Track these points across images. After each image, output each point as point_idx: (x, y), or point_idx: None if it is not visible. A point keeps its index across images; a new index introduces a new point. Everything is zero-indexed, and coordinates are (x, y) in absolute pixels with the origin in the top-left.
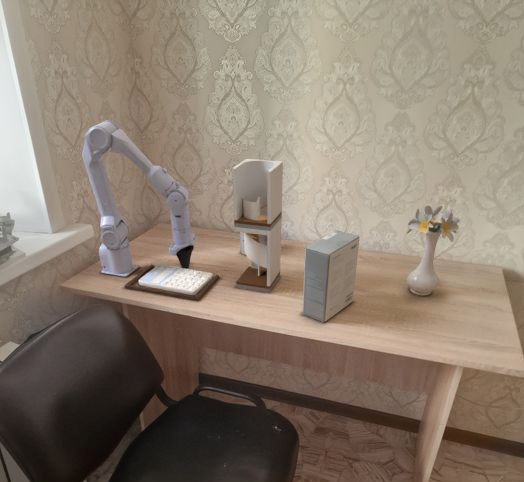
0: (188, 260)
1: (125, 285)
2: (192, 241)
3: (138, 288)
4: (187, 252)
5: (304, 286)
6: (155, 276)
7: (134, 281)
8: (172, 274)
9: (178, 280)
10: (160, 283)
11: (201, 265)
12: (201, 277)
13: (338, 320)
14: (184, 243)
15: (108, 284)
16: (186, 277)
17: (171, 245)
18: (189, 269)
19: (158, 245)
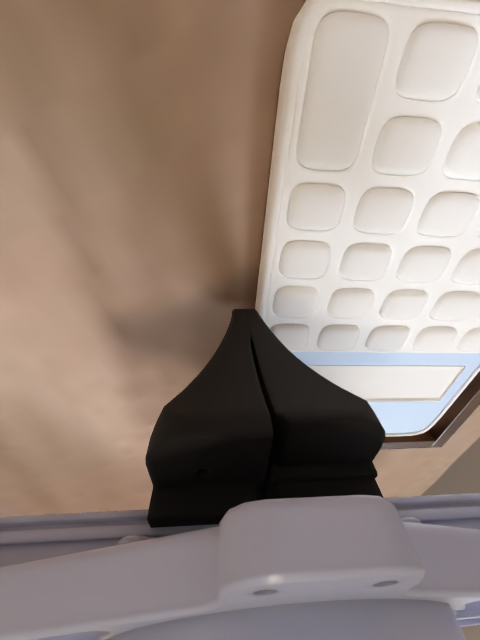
0: (260, 340)
1: (442, 445)
2: (278, 600)
3: (474, 406)
4: (374, 412)
5: None
6: (380, 403)
7: (395, 437)
8: (361, 350)
9: (455, 286)
10: (469, 357)
11: (104, 258)
12: (423, 111)
13: None
14: (452, 623)
15: (396, 472)
16: (423, 251)
17: (469, 624)
18: (268, 291)
19: (49, 491)
